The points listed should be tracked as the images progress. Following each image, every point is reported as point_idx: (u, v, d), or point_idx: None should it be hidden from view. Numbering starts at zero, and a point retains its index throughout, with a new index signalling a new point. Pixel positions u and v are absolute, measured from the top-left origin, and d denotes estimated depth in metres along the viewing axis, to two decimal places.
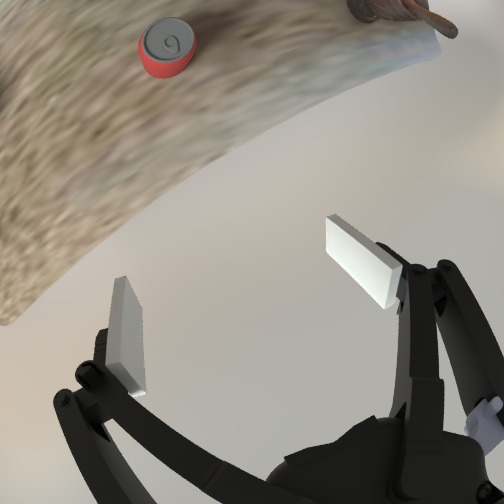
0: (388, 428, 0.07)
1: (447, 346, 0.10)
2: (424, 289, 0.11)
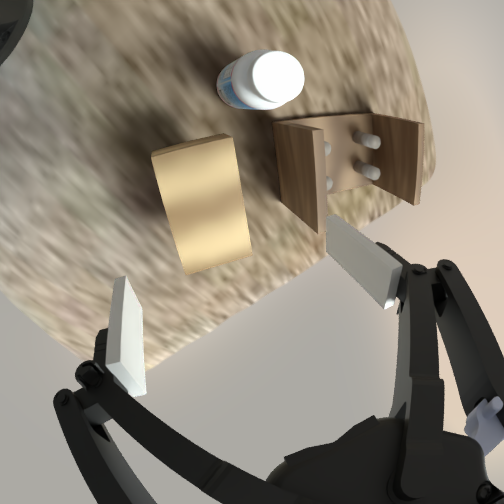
0: (388, 428, 0.07)
1: (447, 346, 0.10)
2: (424, 289, 0.11)
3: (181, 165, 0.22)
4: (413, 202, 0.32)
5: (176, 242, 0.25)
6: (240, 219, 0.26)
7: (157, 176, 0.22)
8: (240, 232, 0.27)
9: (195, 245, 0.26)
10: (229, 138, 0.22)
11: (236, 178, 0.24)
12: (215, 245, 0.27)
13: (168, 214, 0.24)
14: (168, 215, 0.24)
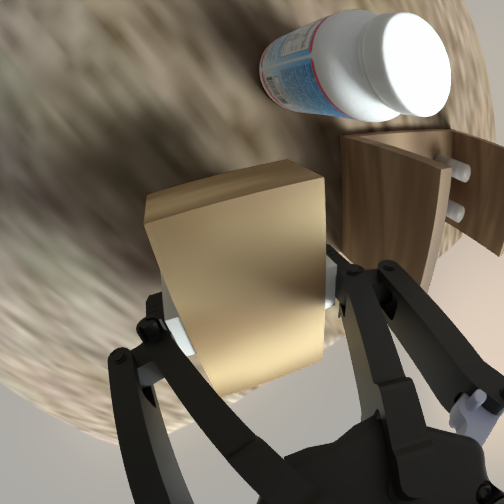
0: None
1: (407, 348, 0.11)
2: (364, 289, 0.12)
3: (215, 240, 0.10)
4: (499, 253, 0.20)
5: (204, 364, 0.14)
6: (315, 320, 0.15)
7: (161, 264, 0.10)
8: (312, 337, 0.15)
9: (237, 364, 0.14)
10: (317, 179, 0.11)
11: (321, 257, 0.13)
12: (269, 360, 0.15)
13: (188, 328, 0.12)
14: (188, 329, 0.12)
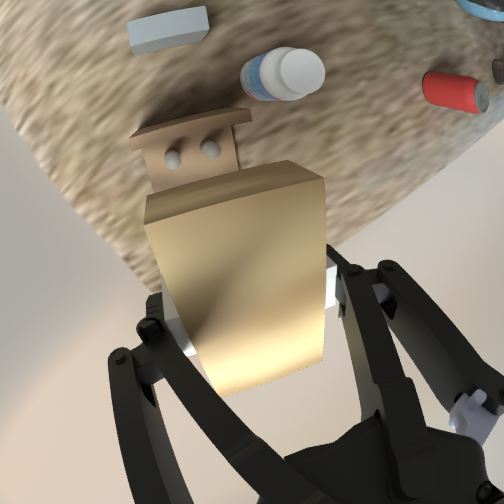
0: None
1: (407, 348, 0.11)
2: (364, 289, 0.12)
3: (215, 240, 0.10)
4: None
5: (204, 365, 0.14)
6: (315, 321, 0.15)
7: (161, 265, 0.10)
8: (312, 337, 0.15)
9: (237, 365, 0.14)
10: (317, 180, 0.11)
11: (321, 258, 0.13)
12: (269, 360, 0.15)
13: (189, 329, 0.12)
14: (189, 330, 0.12)
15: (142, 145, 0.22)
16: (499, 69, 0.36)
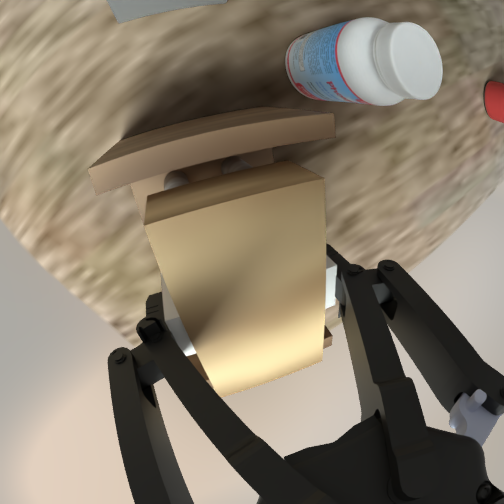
0: None
1: (407, 348, 0.11)
2: (364, 289, 0.12)
3: (215, 241, 0.10)
4: None
5: (204, 365, 0.14)
6: (315, 321, 0.15)
7: (161, 265, 0.10)
8: (312, 338, 0.15)
9: (237, 365, 0.14)
10: (317, 180, 0.11)
11: (321, 258, 0.13)
12: (269, 360, 0.15)
13: (189, 329, 0.12)
14: (189, 330, 0.12)
15: (117, 182, 0.10)
16: None
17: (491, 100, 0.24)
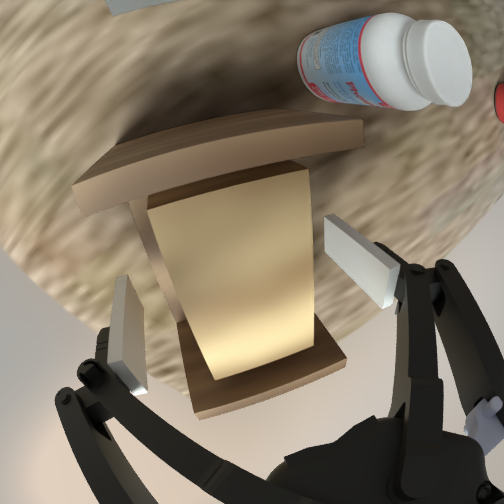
0: (388, 428, 0.07)
1: (446, 346, 0.10)
2: (422, 289, 0.11)
3: (209, 224, 0.12)
4: (199, 411, 0.16)
5: (200, 345, 0.15)
6: (305, 304, 0.16)
7: (162, 246, 0.11)
8: (302, 321, 0.16)
9: (231, 346, 0.16)
10: (302, 171, 0.12)
11: (308, 243, 0.14)
12: (262, 343, 0.16)
13: (186, 308, 0.13)
14: (186, 310, 0.13)
15: (107, 202, 0.08)
16: None
17: (502, 103, 0.22)
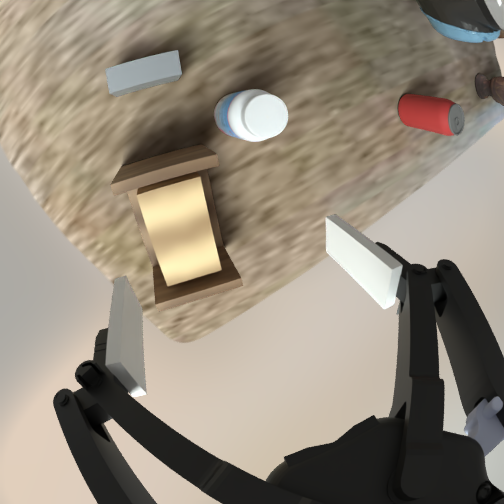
0: (388, 428, 0.07)
1: (447, 346, 0.10)
2: (424, 289, 0.11)
3: (160, 200, 0.28)
4: (158, 303, 0.32)
5: (159, 260, 0.31)
6: (209, 241, 0.33)
7: (142, 209, 0.28)
8: (210, 252, 0.33)
9: (174, 262, 0.32)
10: (197, 177, 0.29)
11: (205, 209, 0.30)
12: (190, 262, 0.33)
13: (151, 238, 0.30)
14: (152, 239, 0.30)
15: (122, 190, 0.25)
16: (482, 84, 0.42)
17: (403, 111, 0.40)
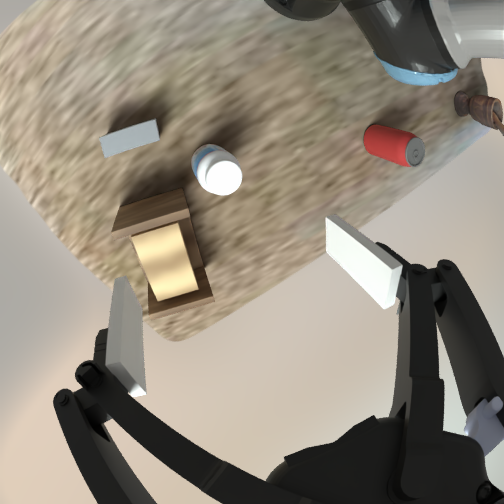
0: (388, 428, 0.07)
1: (447, 346, 0.10)
2: (424, 289, 0.11)
3: (149, 241, 0.38)
4: (150, 314, 0.42)
5: (150, 283, 0.41)
6: (188, 269, 0.42)
7: (135, 247, 0.38)
8: (189, 276, 0.43)
9: (161, 284, 0.42)
10: (175, 223, 0.38)
11: (182, 246, 0.40)
12: (174, 284, 0.43)
13: (144, 267, 0.40)
14: (144, 268, 0.40)
15: (120, 236, 0.35)
16: (461, 102, 0.50)
17: (367, 142, 0.48)
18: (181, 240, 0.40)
